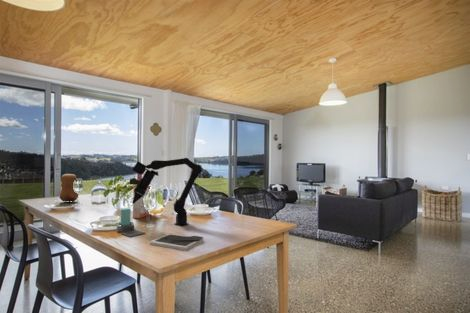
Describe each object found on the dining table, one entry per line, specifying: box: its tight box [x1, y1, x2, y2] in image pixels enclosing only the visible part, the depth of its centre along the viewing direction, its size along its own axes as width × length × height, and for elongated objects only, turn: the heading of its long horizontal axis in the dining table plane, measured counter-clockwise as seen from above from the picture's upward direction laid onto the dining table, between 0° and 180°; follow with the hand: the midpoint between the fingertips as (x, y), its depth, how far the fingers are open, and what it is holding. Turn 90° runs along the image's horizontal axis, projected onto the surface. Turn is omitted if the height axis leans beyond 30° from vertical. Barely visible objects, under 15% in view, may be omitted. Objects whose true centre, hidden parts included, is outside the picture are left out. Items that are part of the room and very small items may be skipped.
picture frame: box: [149, 233, 204, 252], centre depth 139 cm, size 16×3×21 cm
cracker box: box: [132, 185, 152, 219], centre depth 195 cm, size 14×6×21 cm, turn 168°
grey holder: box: [116, 221, 135, 233], centre depth 161 cm, size 9×9×3 cm
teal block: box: [119, 207, 131, 226], centre depth 161 cm, size 5×5×12 cm
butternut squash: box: [59, 173, 79, 202], centre depth 245 cm, size 14×13×25 cm
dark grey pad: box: [120, 229, 146, 238], centre depth 152 cm, size 9×9×1 cm
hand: (133, 201), depth 167 cm, fingers open, 9 cm apart
